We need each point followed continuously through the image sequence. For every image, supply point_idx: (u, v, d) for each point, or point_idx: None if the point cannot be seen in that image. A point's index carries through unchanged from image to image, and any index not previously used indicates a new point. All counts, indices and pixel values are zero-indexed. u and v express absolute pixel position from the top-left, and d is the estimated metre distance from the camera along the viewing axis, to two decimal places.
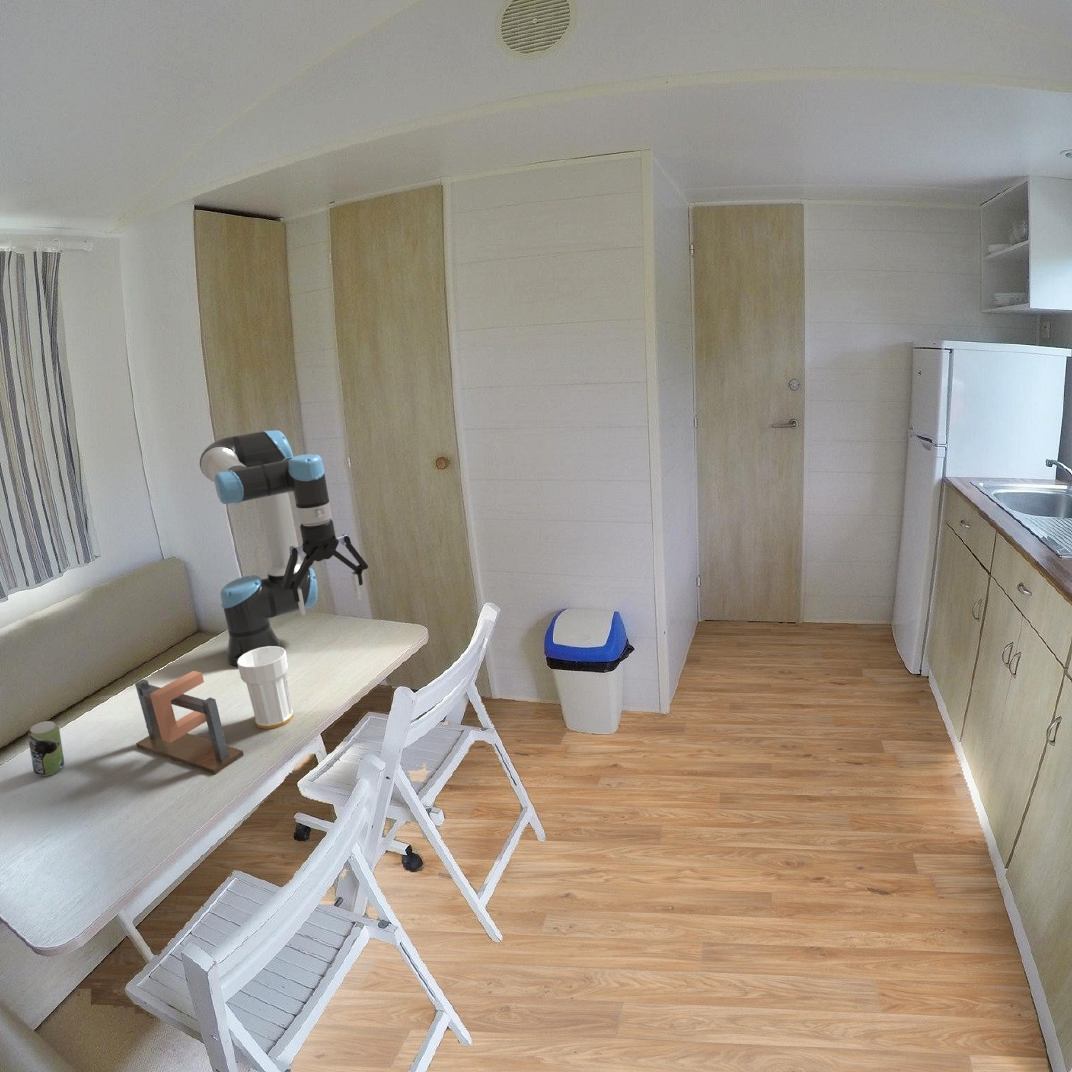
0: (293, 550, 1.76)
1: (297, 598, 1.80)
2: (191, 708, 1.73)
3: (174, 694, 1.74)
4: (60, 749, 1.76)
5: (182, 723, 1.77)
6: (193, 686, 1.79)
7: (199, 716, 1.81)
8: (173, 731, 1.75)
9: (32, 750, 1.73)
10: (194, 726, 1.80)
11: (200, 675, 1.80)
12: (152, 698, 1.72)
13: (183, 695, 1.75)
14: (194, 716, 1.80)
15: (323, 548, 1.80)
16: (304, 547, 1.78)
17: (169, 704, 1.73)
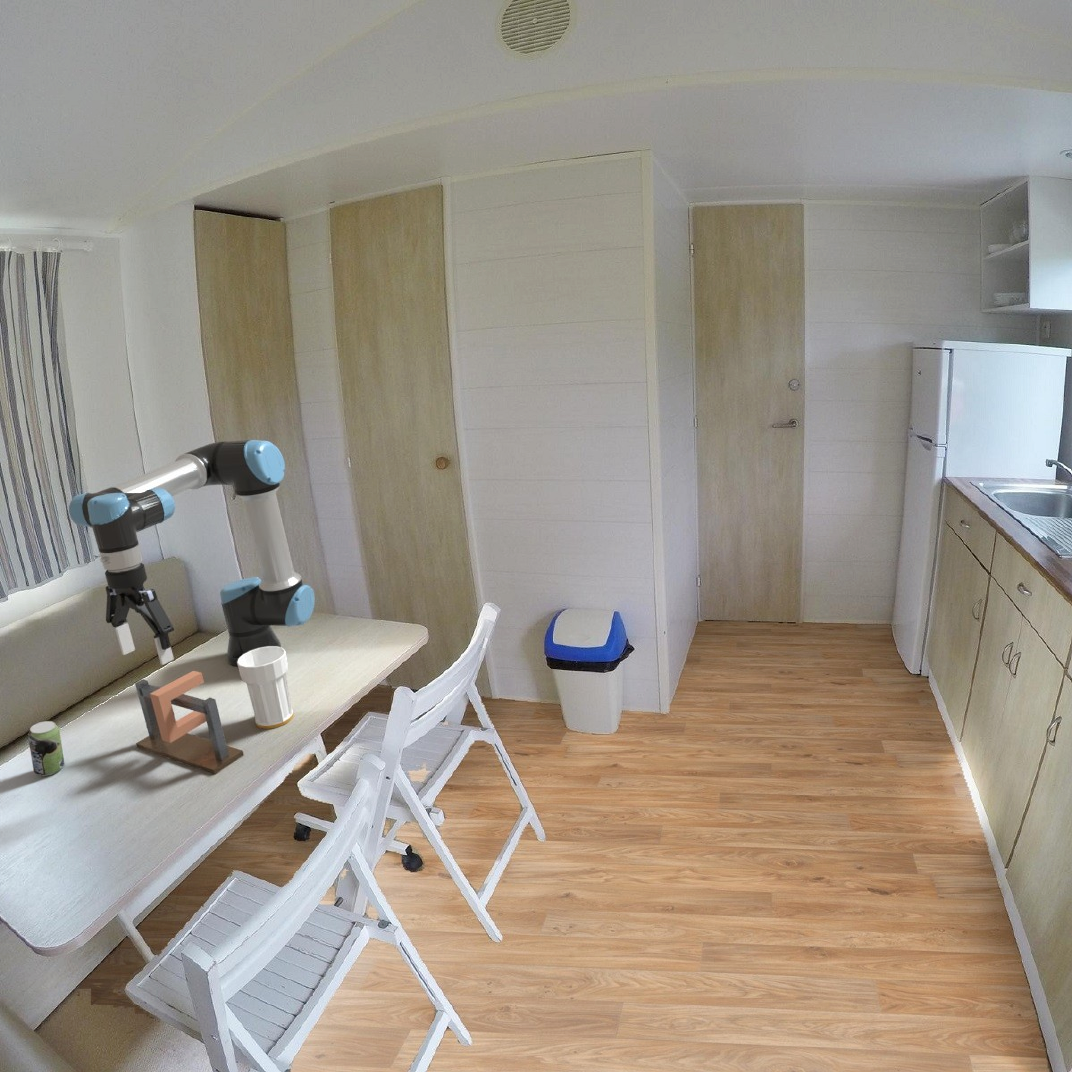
0: (106, 588, 1.67)
1: None
2: (191, 708, 1.73)
3: (174, 694, 1.74)
4: (60, 749, 1.76)
5: (182, 723, 1.77)
6: (193, 686, 1.79)
7: (199, 716, 1.81)
8: (173, 731, 1.75)
9: (32, 750, 1.73)
10: (194, 726, 1.80)
11: (200, 675, 1.80)
12: (152, 698, 1.72)
13: (183, 695, 1.75)
14: (194, 716, 1.80)
15: None
16: (115, 588, 1.66)
17: (169, 704, 1.73)
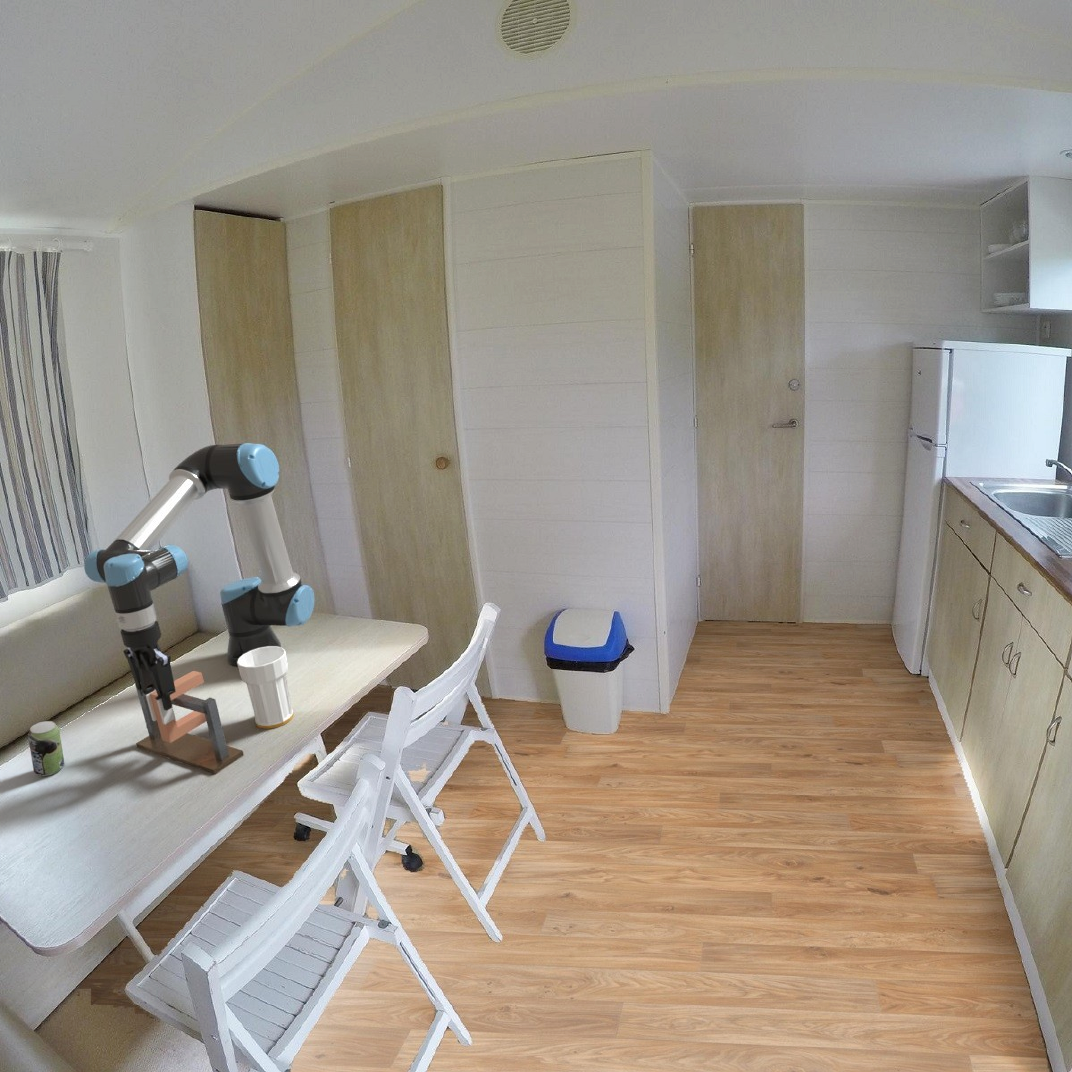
0: (124, 652, 1.71)
1: None
2: (191, 708, 1.73)
3: (174, 694, 1.74)
4: (60, 749, 1.76)
5: (182, 723, 1.77)
6: (193, 686, 1.79)
7: (199, 716, 1.81)
8: (173, 731, 1.75)
9: (32, 750, 1.73)
10: (194, 726, 1.80)
11: (200, 675, 1.80)
12: (152, 698, 1.72)
13: (183, 695, 1.75)
14: (194, 716, 1.80)
15: (142, 652, 1.68)
16: None
17: None
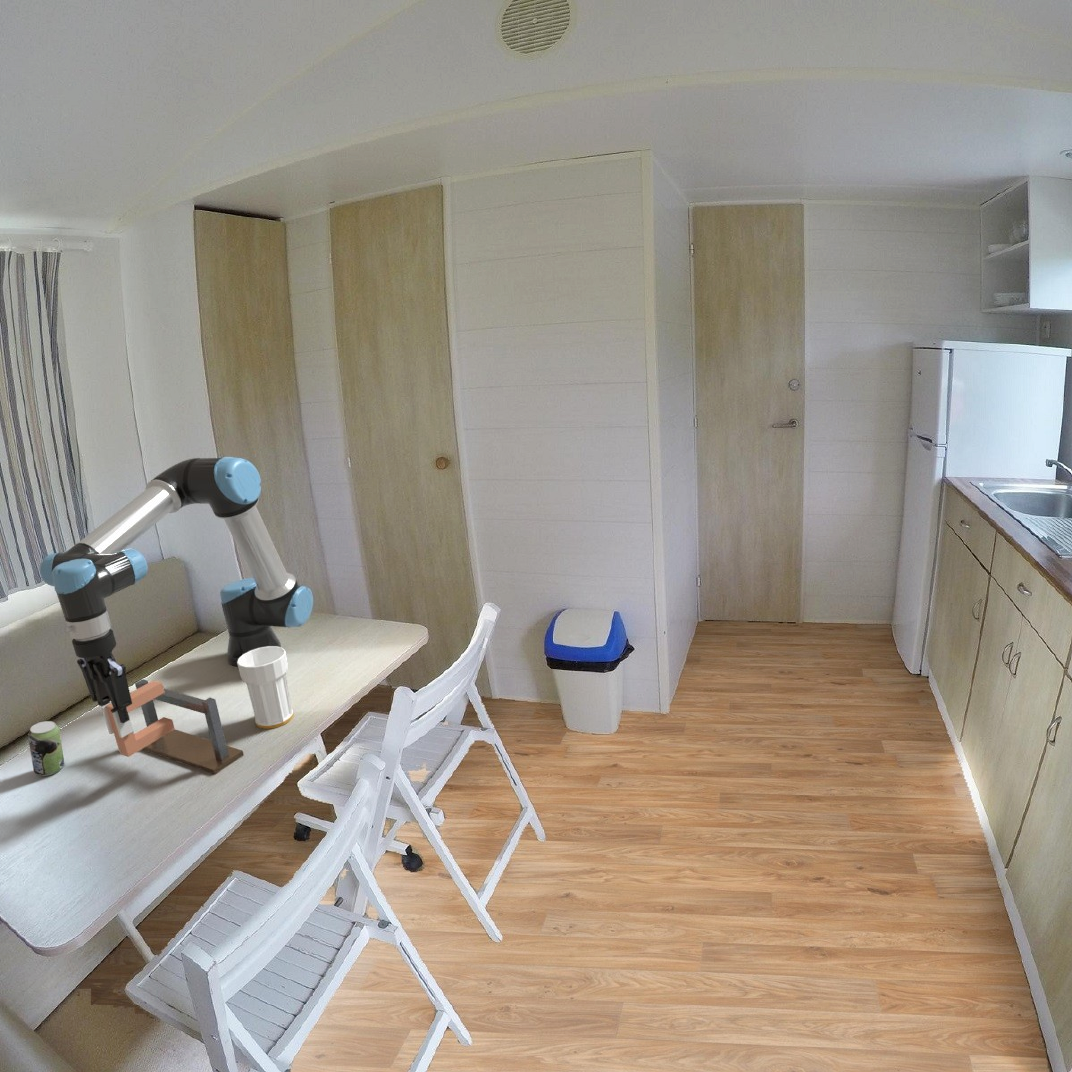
0: (77, 662, 1.62)
1: None
2: (191, 708, 1.73)
3: (131, 706, 1.66)
4: (60, 749, 1.76)
5: (141, 736, 1.69)
6: (153, 697, 1.70)
7: (160, 728, 1.72)
8: (131, 744, 1.66)
9: (32, 750, 1.73)
10: (155, 739, 1.71)
11: (160, 685, 1.71)
12: (108, 710, 1.64)
13: (183, 695, 1.75)
14: (155, 728, 1.71)
15: (95, 662, 1.59)
16: None
17: None
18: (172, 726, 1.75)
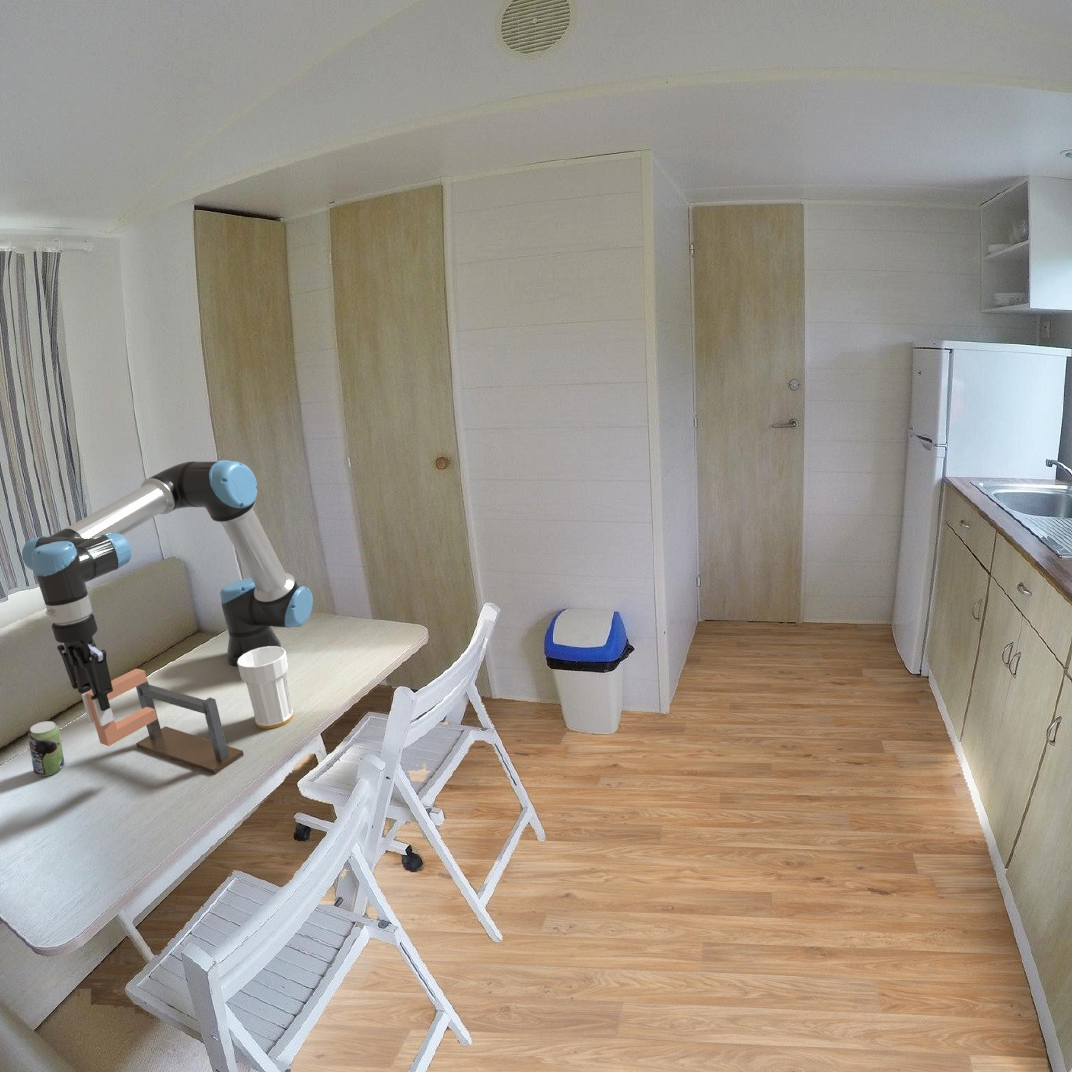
0: (57, 648, 1.58)
1: None
2: (191, 708, 1.73)
3: (112, 694, 1.61)
4: (60, 749, 1.76)
5: (122, 725, 1.65)
6: (135, 685, 1.66)
7: (142, 717, 1.68)
8: (112, 733, 1.62)
9: (32, 750, 1.73)
10: (137, 728, 1.67)
11: (143, 673, 1.67)
12: (88, 698, 1.60)
13: (183, 695, 1.75)
14: (137, 717, 1.67)
15: (75, 647, 1.55)
16: None
17: None
18: (155, 716, 1.70)
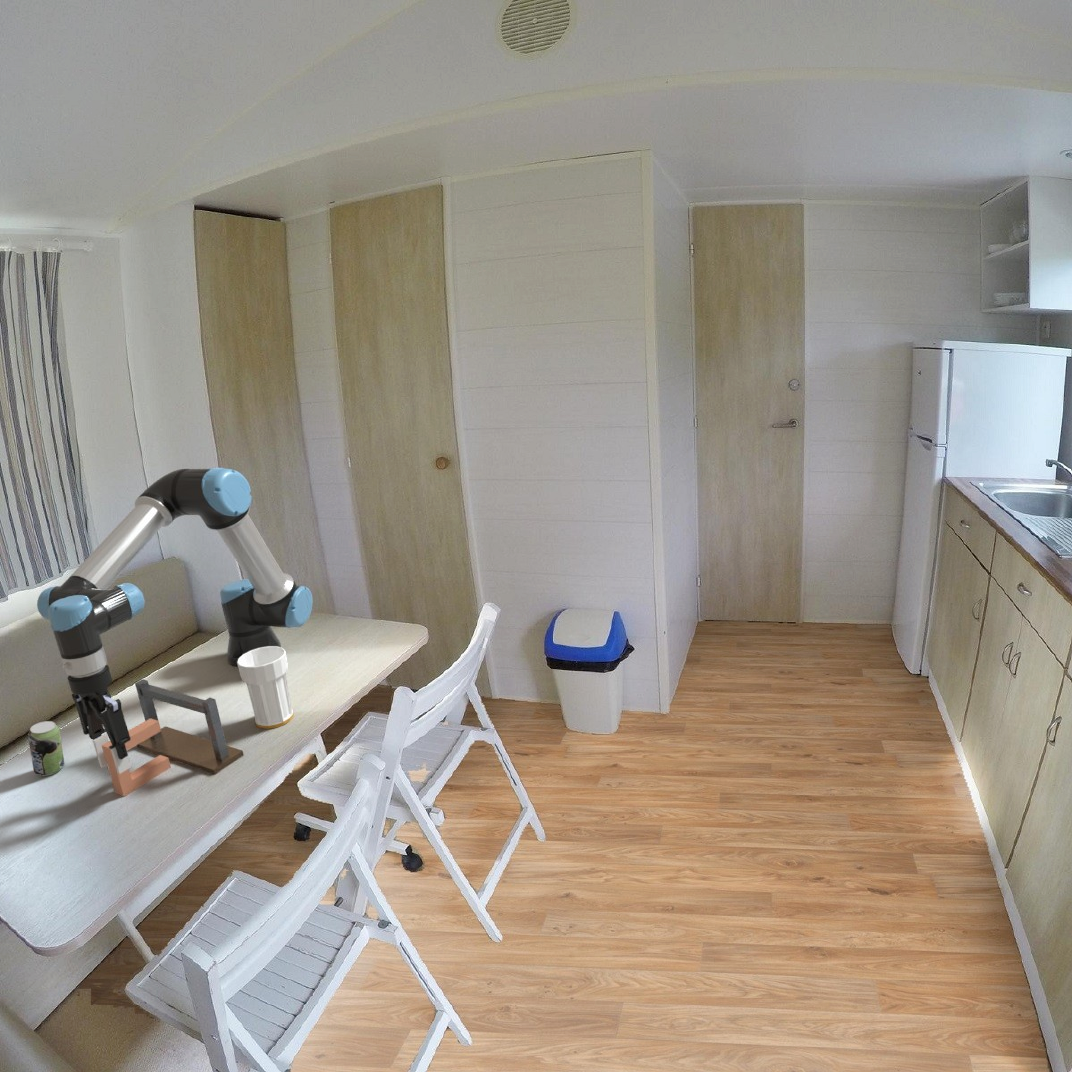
0: (72, 695, 1.62)
1: None
2: (191, 708, 1.73)
3: (127, 746, 1.65)
4: (60, 749, 1.76)
5: (137, 775, 1.69)
6: (149, 735, 1.70)
7: (156, 766, 1.72)
8: (127, 784, 1.66)
9: (32, 750, 1.73)
10: (151, 777, 1.71)
11: (157, 724, 1.71)
12: (104, 750, 1.63)
13: (183, 695, 1.75)
14: (151, 766, 1.71)
15: (91, 699, 1.59)
16: None
17: None
18: (168, 764, 1.74)
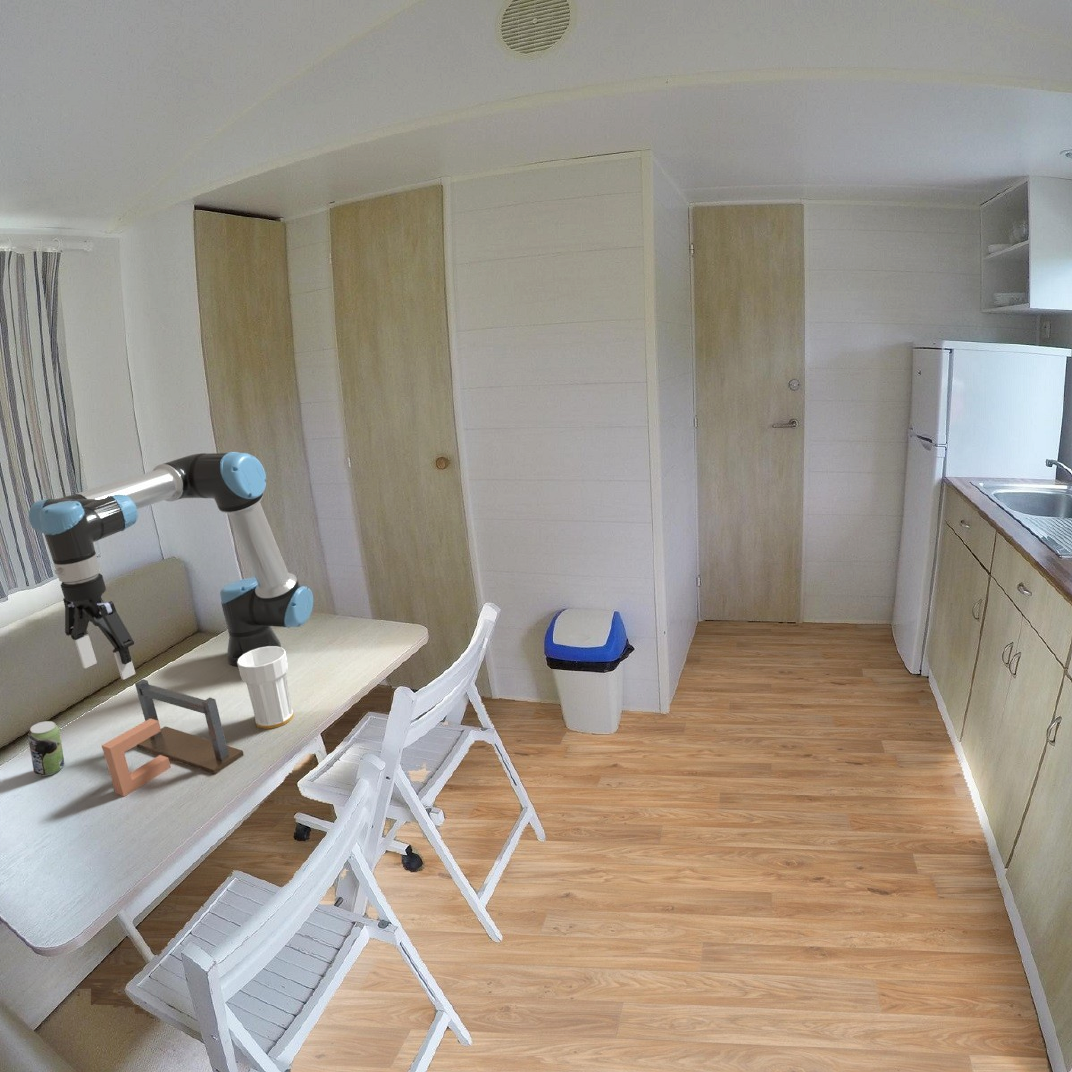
0: (64, 599, 1.59)
1: None
2: (191, 708, 1.73)
3: (127, 746, 1.65)
4: (60, 749, 1.76)
5: (137, 775, 1.69)
6: (149, 735, 1.70)
7: (156, 766, 1.72)
8: (127, 784, 1.66)
9: (32, 750, 1.73)
10: (151, 777, 1.71)
11: (157, 724, 1.71)
12: (104, 750, 1.63)
13: (183, 695, 1.75)
14: (151, 766, 1.71)
15: None
16: None
17: (122, 756, 1.65)
18: (168, 764, 1.74)
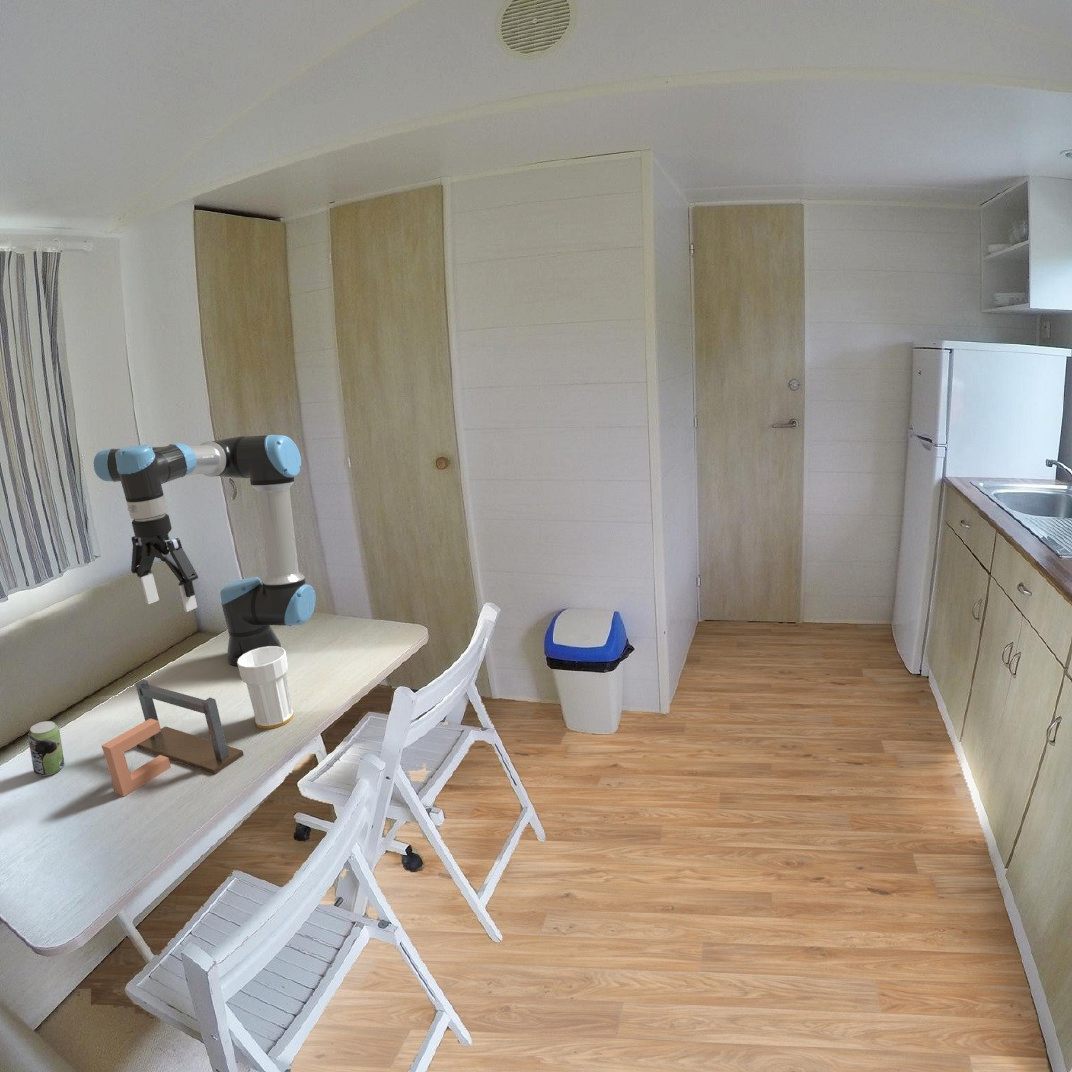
0: (132, 538, 1.73)
1: None
2: (191, 708, 1.73)
3: (127, 746, 1.65)
4: (60, 749, 1.76)
5: (137, 775, 1.69)
6: (149, 735, 1.70)
7: (156, 766, 1.72)
8: (127, 784, 1.66)
9: (32, 750, 1.73)
10: (151, 777, 1.71)
11: (157, 723, 1.71)
12: (104, 750, 1.63)
13: (183, 695, 1.75)
14: (151, 766, 1.71)
15: None
16: (141, 538, 1.72)
17: (122, 756, 1.65)
18: (168, 764, 1.74)
